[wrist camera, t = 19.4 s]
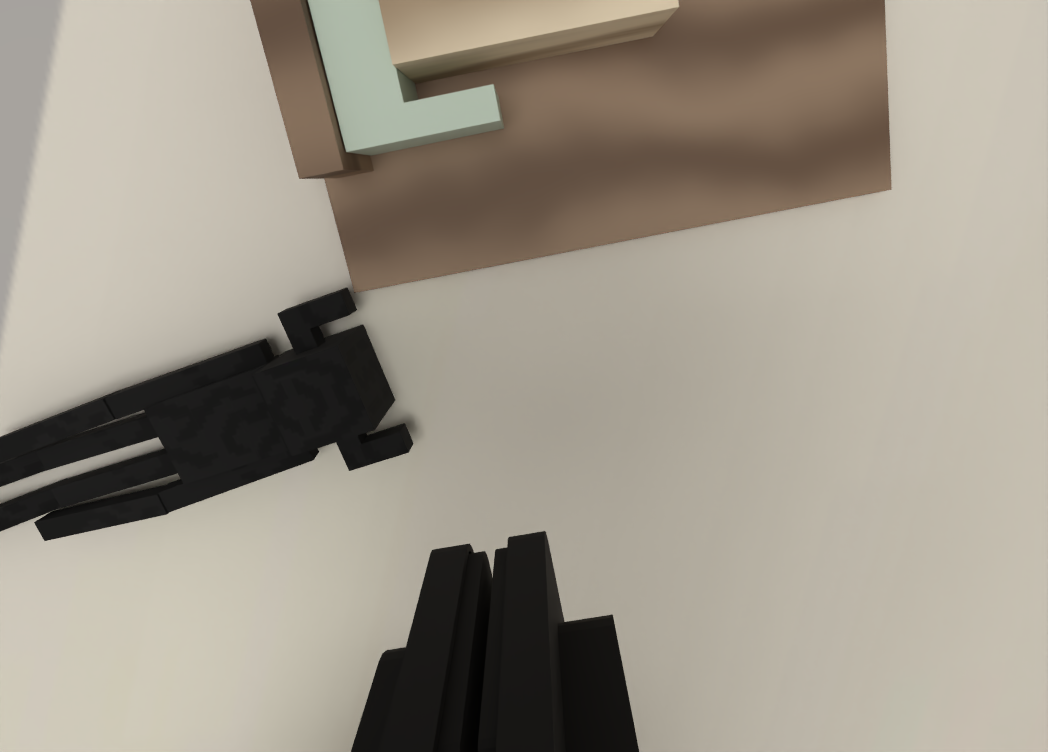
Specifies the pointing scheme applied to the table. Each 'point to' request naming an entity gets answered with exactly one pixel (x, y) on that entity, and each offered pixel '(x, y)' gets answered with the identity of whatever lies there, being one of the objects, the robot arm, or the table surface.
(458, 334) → the table surface
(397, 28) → the beige wooden brick
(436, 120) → the block
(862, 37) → the board
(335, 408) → the toy
